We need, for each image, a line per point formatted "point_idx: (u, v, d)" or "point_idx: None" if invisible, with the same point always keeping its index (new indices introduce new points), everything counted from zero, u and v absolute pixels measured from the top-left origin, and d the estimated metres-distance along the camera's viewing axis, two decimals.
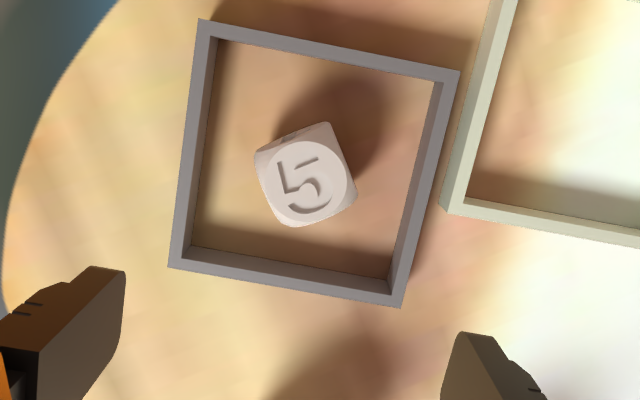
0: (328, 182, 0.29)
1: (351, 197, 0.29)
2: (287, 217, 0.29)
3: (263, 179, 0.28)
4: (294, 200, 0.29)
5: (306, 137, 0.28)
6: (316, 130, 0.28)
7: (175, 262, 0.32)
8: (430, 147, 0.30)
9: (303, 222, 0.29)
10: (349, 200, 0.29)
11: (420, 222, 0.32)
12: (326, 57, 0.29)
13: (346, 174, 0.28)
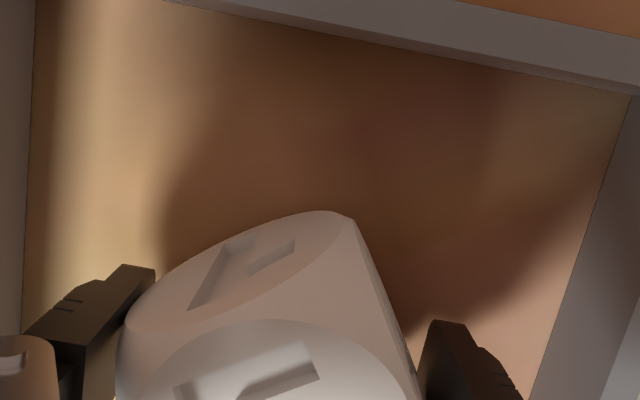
0: None
1: None
2: None
3: None
4: None
5: (275, 301, 0.08)
6: (311, 269, 0.08)
7: None
8: None
9: None
10: None
11: None
12: (343, 21, 0.09)
13: None
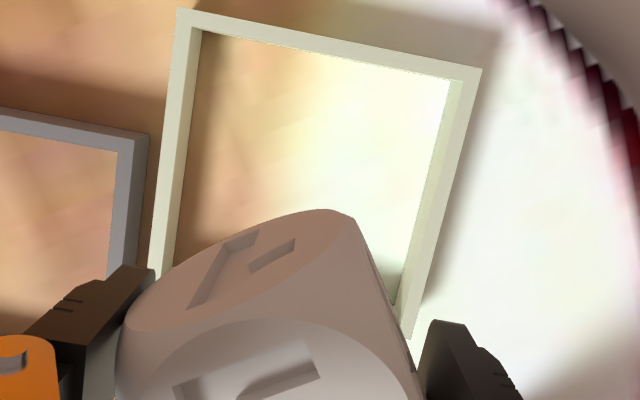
0: None
1: None
2: None
3: None
4: None
5: (275, 300, 0.08)
6: (311, 267, 0.08)
7: None
8: (113, 223, 0.27)
9: None
10: None
11: None
12: None
13: None
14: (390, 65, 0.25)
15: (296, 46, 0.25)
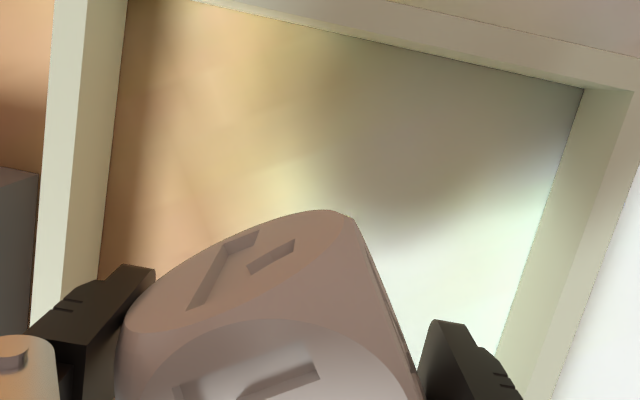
0: None
1: None
2: None
3: None
4: None
5: (275, 301, 0.08)
6: (311, 268, 0.08)
7: None
8: None
9: None
10: None
11: None
12: None
13: None
14: (491, 56, 0.13)
15: (303, 14, 0.12)
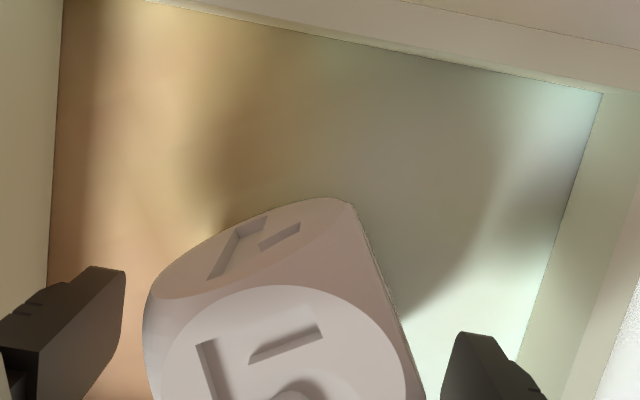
0: (351, 391, 0.10)
1: None
2: None
3: (158, 388, 0.10)
4: None
5: (285, 270, 0.09)
6: (315, 244, 0.10)
7: None
8: None
9: None
10: None
11: None
12: None
13: (406, 377, 0.10)
14: (494, 59, 0.10)
15: (265, 12, 0.10)
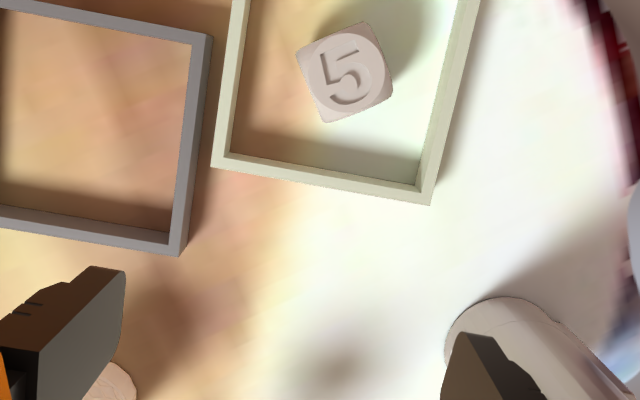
0: (367, 74, 0.31)
1: (388, 90, 0.31)
2: (329, 108, 0.31)
3: (307, 71, 0.30)
4: (335, 91, 0.31)
5: (347, 30, 0.30)
6: (356, 25, 0.30)
7: None
8: (186, 105, 0.33)
9: (343, 113, 0.31)
10: (386, 93, 0.31)
11: (186, 175, 0.34)
12: (81, 21, 0.32)
13: (384, 66, 0.30)
14: None
15: None
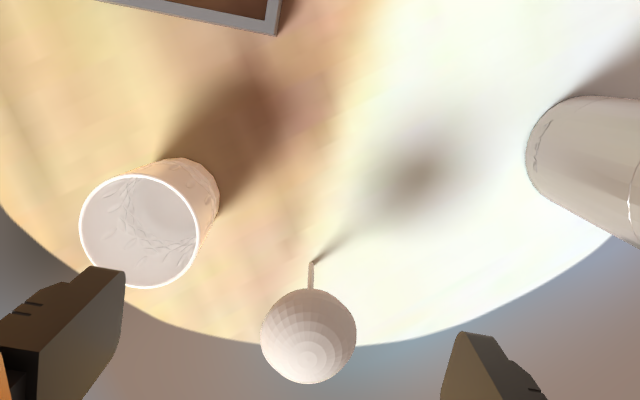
0: None
1: None
2: None
3: None
4: None
5: None
6: None
7: None
8: None
9: None
10: None
11: None
12: None
13: None
14: None
15: None
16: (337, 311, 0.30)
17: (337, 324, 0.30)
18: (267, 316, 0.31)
